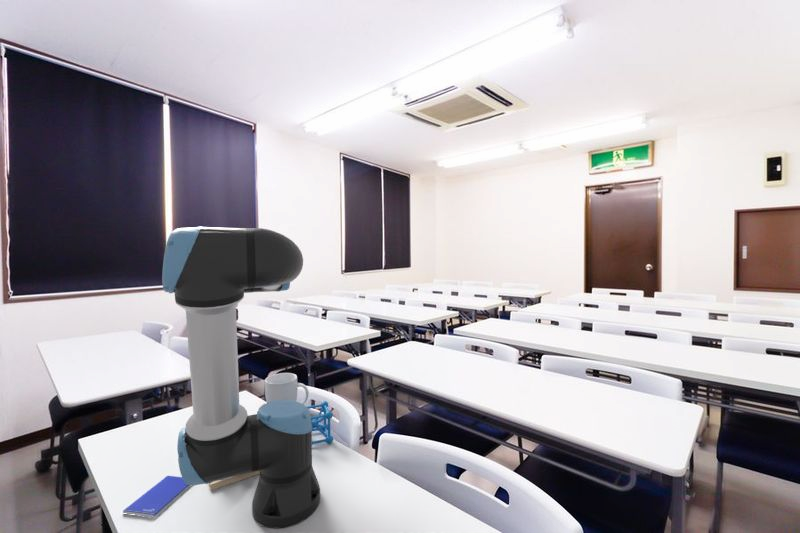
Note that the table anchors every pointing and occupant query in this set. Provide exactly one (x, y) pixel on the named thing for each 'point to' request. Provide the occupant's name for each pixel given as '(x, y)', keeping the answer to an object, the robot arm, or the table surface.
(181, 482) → the hard drive
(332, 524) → the table surface
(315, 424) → the molecular structure
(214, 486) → the wooden base mechanism
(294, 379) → the mug
